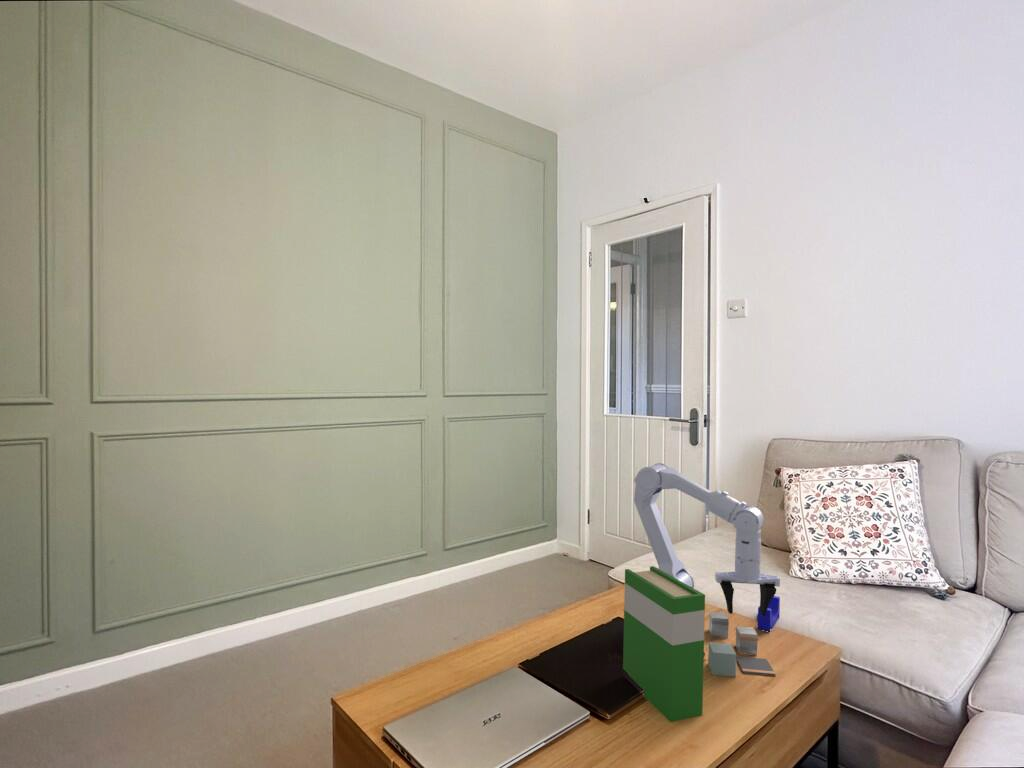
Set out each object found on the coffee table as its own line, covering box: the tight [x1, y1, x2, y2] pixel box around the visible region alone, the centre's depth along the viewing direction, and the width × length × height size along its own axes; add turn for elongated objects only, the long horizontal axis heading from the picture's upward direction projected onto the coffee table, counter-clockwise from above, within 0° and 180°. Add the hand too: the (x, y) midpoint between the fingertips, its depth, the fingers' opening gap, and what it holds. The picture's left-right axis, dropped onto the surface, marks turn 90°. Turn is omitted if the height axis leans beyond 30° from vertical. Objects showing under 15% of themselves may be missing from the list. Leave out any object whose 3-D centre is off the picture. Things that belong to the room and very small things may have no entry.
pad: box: [736, 655, 776, 677], centre depth 132 cm, size 7×7×1 cm
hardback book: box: [622, 565, 706, 723], centre depth 119 cm, size 18×7×24 cm, turn 20°
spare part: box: [735, 625, 759, 655], centre depth 140 cm, size 4×4×5 cm
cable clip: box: [756, 595, 781, 633], centre depth 156 cm, size 12×4×6 cm, turn 144°
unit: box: [707, 641, 737, 677], centre depth 130 cm, size 5×5×5 cm
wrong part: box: [708, 611, 730, 639], centre depth 148 cm, size 4×4×5 cm
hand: (746, 613), depth 138 cm, fingers open, 7 cm apart
